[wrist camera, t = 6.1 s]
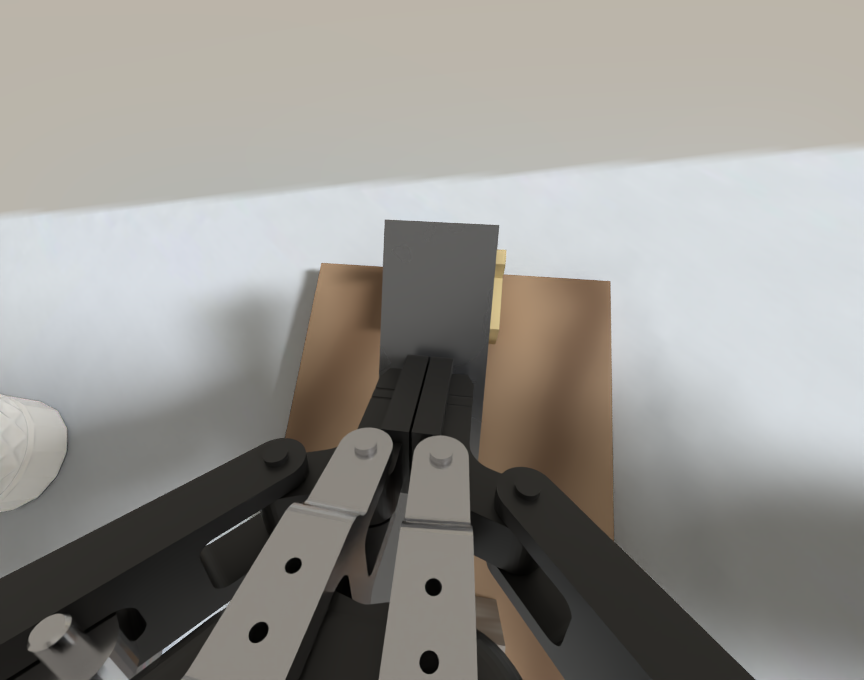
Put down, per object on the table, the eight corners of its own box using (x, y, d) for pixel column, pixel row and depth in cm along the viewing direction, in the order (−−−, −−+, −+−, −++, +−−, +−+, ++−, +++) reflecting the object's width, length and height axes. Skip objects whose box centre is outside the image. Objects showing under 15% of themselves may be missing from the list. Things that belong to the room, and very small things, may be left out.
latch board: (601, 291, 25) (646, 236, 19) (605, 713, 19) (672, 838, 13) (329, 273, 27) (287, 218, 21) (253, 648, 21) (163, 729, 15)
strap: (497, 230, 14) (499, 224, 12) (459, 662, 17) (456, 708, 15) (395, 224, 14) (382, 218, 12) (377, 648, 17) (365, 691, 15)
